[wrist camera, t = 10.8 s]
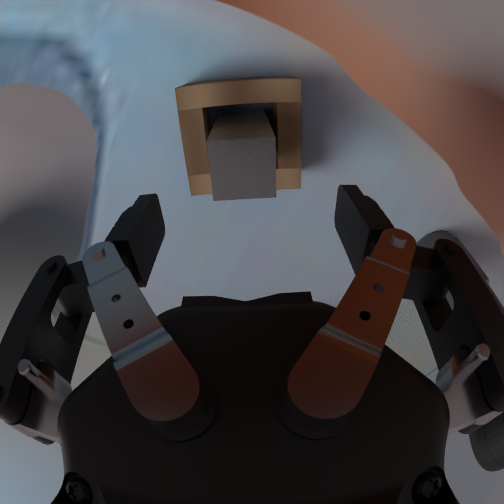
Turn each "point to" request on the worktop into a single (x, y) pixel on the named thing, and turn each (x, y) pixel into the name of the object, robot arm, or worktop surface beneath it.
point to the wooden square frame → (241, 92)
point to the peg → (242, 155)
